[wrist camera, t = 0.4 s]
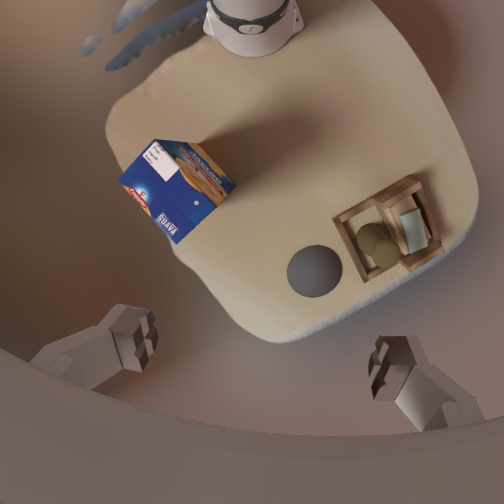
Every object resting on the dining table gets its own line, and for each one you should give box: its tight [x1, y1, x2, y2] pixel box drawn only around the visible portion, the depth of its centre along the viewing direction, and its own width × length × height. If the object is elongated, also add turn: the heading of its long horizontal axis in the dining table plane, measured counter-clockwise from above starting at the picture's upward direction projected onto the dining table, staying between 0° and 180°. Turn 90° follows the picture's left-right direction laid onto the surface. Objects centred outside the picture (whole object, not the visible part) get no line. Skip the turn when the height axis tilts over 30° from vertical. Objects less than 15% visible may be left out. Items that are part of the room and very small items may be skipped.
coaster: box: [287, 246, 342, 297], centre depth 59 cm, size 11×11×1 cm
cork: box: [356, 224, 401, 268], centre depth 51 cm, size 6×6×11 cm
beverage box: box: [118, 139, 236, 244], centre depth 44 cm, size 7×11×22 cm, turn 42°
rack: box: [332, 175, 444, 283], centre depth 52 cm, size 18×15×7 cm
